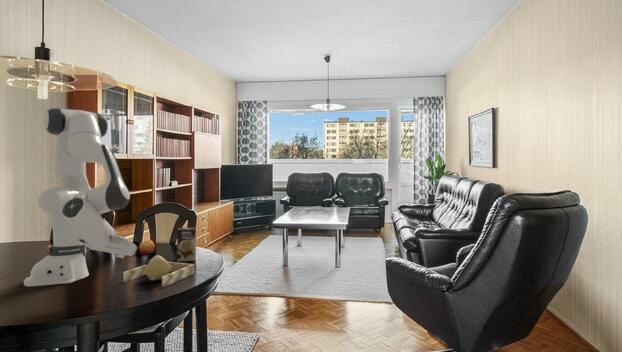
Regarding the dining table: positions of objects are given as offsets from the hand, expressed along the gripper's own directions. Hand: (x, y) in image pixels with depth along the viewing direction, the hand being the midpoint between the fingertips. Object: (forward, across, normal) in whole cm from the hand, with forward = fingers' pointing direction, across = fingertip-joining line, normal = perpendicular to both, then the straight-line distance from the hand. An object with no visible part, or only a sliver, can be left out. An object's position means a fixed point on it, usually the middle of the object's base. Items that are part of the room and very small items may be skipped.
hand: (121, 256), depth 140 cm
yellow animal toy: (+21, -4, -2) cm, 21 cm away
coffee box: (+44, +6, -24) cm, 50 cm away
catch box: (+23, -3, -4) cm, 23 cm away
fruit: (+48, +34, -27) cm, 65 cm away
